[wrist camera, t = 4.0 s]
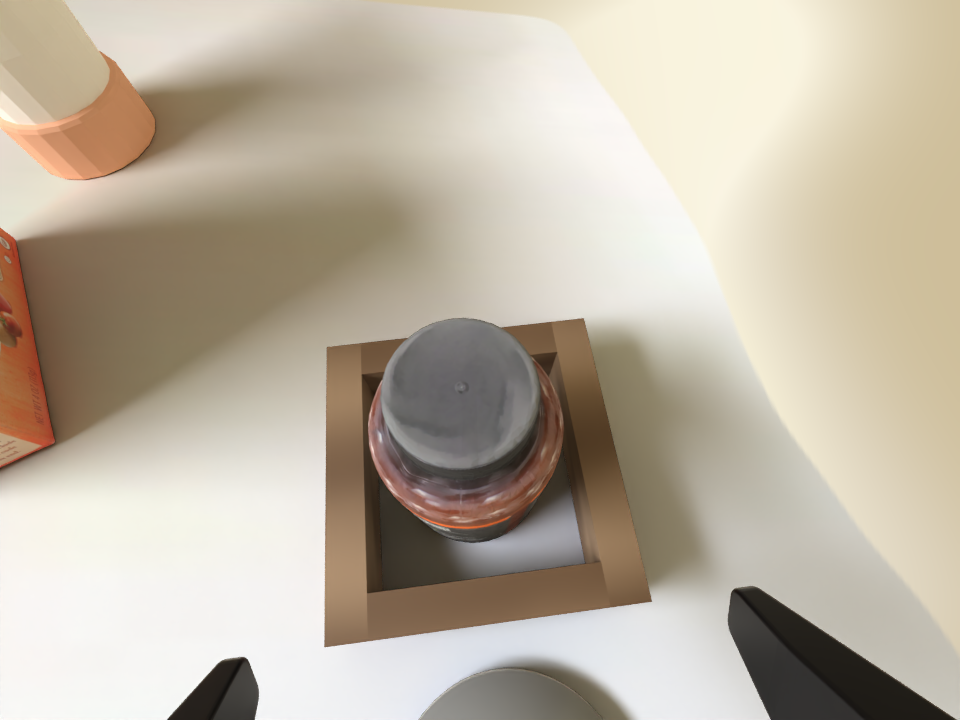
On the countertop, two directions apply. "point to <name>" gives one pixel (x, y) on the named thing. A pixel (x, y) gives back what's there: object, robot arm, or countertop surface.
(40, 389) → the cracker box
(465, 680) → the grey round disc
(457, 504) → the supplement bottle
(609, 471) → the walnut holder
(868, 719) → the robot arm
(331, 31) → the countertop surface
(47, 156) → the pepper shaker
